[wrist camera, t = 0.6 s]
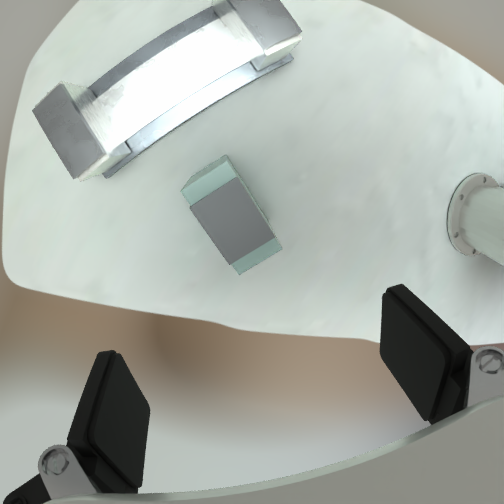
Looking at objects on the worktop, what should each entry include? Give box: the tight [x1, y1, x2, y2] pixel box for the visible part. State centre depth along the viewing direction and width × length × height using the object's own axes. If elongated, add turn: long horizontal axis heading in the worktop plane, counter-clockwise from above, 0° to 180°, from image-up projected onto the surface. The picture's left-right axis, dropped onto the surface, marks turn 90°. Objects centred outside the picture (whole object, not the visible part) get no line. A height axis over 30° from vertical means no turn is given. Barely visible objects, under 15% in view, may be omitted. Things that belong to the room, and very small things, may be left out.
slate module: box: [181, 155, 282, 275], centre depth 31 cm, size 5×9×10 cm, turn 32°
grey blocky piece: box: [32, 0, 302, 182], centre depth 25 cm, size 24×10×10 cm, turn 122°
